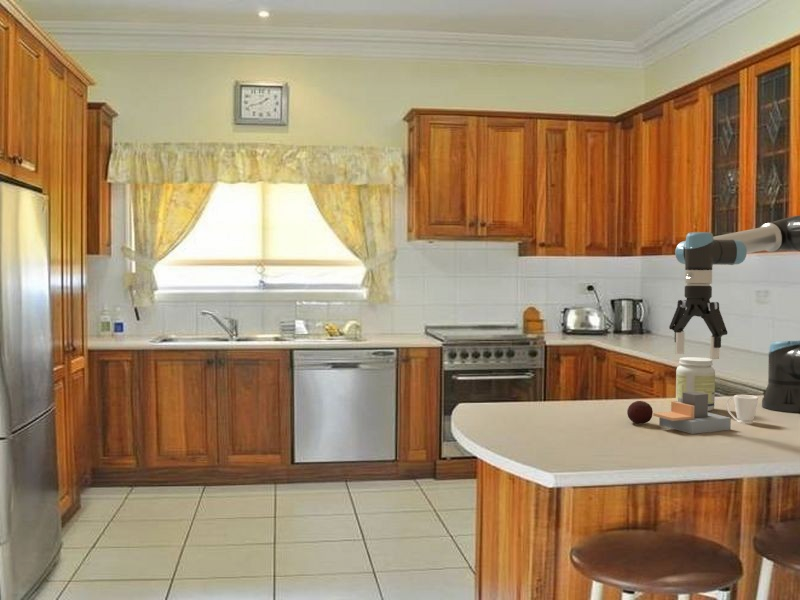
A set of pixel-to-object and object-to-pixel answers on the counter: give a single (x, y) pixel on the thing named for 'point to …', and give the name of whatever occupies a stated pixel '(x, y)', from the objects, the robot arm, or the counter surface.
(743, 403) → the cup
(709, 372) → the supplement tub
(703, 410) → the plug
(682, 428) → the socket block
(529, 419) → the counter surface
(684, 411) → the orange l-shaped bracket
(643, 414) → the dark brown ball
